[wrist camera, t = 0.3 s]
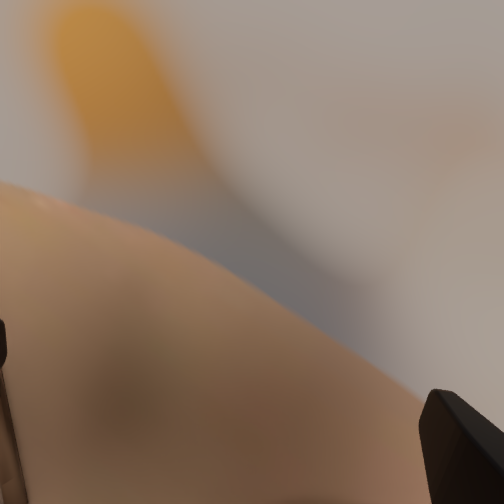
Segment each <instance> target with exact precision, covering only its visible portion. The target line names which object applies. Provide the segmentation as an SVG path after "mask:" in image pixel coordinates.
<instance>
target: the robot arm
mask: <svg viewBox="0 0 504 504" xmlns="http://www.w3.org/2000/svg"><path fill="white" fill-rule="evenodd" d="M6 357H7V343H6V332H5V324H4V322H3V320H1V319H0V369H1V367H2V366H3V364H4V362H5V360H6ZM419 434H420V440H421V446H422V452H423V458H424V464H425V470H426V476H427V481H428V487H429V493H430V498H431V503H432V504H504V432H502V431H501V430H500V429H499V428H497V427H496V426H495V425H494V424H492V423H491V422H490V421H489V420H487V419H486V418H485V417H484V416H483V415H481V414H480V413H479V412H478V411H476V410H475V409H474V408H473V407H471V406H470V405H469V404H468V403H467V402H465V401H464V400H463V399H462V398H460V397H459V396H458V395H457V394H455V393H454V392H452V391H447V390H441V389H433V390H431V392H430V393H429V395H428V397H427V400H426V403H425V405H424V408H423V411H422V414H421V416H420V419H419Z"/></svg>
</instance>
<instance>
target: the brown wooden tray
mask: <svg viewBox="0 0 504 504" xmlns="http://www.w3.org/2000/svg"><path fill="white" fill-rule="evenodd" d="M0 504H28V500H27V495H26V490H25V485H24V480H23V475H22V470H21V465H20V460H19V455H18V450H17V446H16V441H15V436H14V431H13V426H12V421H11V416H10V411H9V406H8V401H7V396H6V391H5V386H4V381H3V376H2V371H1V369H0Z"/></svg>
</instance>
